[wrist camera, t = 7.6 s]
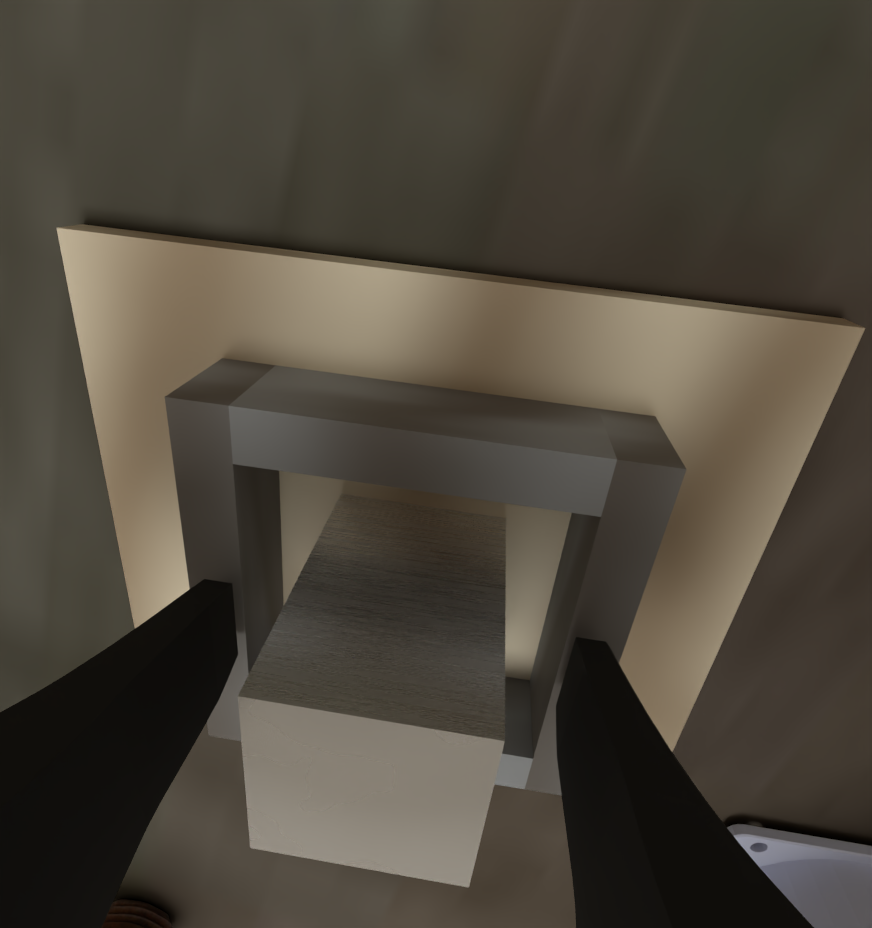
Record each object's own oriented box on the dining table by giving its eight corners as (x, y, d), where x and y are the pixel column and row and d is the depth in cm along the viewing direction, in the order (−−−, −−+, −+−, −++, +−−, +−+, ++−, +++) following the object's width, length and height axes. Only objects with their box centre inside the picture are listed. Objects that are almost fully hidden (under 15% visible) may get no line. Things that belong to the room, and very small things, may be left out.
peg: (505, 517, 14) (504, 741, 8) (481, 641, 16) (468, 887, 10) (341, 493, 14) (237, 696, 9) (337, 618, 16) (250, 847, 10)
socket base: (843, 318, 12) (952, 367, 9) (651, 760, 18) (678, 870, 15) (81, 224, 12) (-44, 241, 10) (162, 680, 19) (101, 770, 16)
